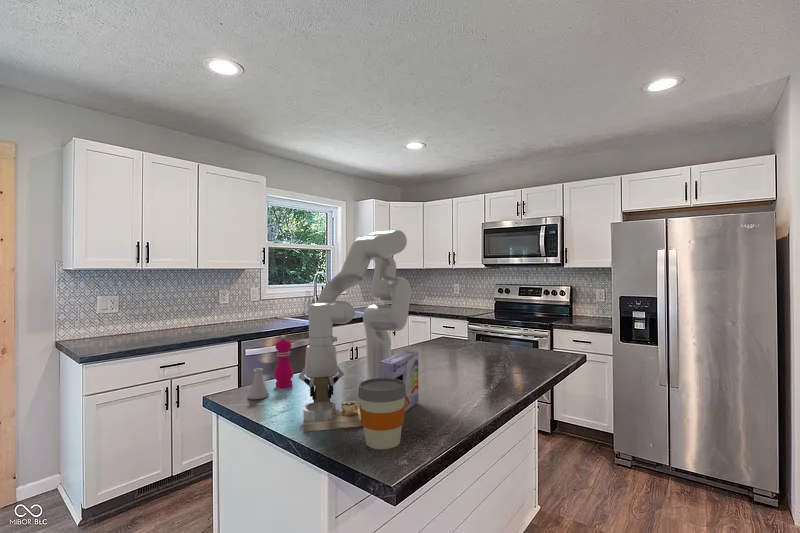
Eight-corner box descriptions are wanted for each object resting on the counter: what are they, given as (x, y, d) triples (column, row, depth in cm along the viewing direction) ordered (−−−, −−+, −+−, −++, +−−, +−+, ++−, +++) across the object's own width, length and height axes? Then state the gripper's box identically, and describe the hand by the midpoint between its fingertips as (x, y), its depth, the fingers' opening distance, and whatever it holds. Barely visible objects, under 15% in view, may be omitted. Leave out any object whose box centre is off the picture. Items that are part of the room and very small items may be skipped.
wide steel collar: (334, 410, 124) (334, 400, 124) (336, 420, 115) (336, 410, 115) (303, 412, 122) (303, 403, 122) (303, 424, 113) (303, 413, 113)
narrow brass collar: (357, 410, 123) (357, 400, 123) (359, 416, 119) (358, 405, 119) (341, 412, 122) (341, 401, 122) (342, 417, 118) (342, 406, 118)
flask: (262, 400, 141) (262, 372, 141) (243, 399, 143) (243, 371, 143) (272, 394, 148) (272, 367, 148) (255, 393, 150) (254, 366, 150)
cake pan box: (391, 423, 118) (390, 362, 118) (376, 420, 121) (375, 361, 121) (420, 403, 135) (419, 350, 135) (407, 401, 137) (406, 349, 138)
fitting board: (363, 413, 126) (363, 407, 126) (367, 425, 117) (367, 418, 117) (304, 419, 123) (304, 412, 123) (303, 431, 113) (303, 424, 113)
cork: (334, 407, 132) (334, 374, 132) (325, 414, 127) (325, 378, 127) (318, 406, 134) (318, 372, 134) (308, 412, 129) (308, 377, 129)
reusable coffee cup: (369, 430, 113) (368, 376, 113) (412, 434, 110) (411, 379, 110) (351, 449, 101) (350, 389, 101) (399, 455, 98) (397, 392, 98)
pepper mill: (283, 389, 154) (282, 337, 154) (270, 387, 158) (269, 335, 158) (297, 384, 160) (296, 334, 160) (284, 382, 164) (284, 333, 164)
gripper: (346, 338, 136) (347, 392, 136) (294, 341, 133) (295, 396, 132) (348, 342, 129) (349, 399, 129) (293, 345, 125) (294, 404, 125)
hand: (321, 397), depth 131 cm, fingers closed on cork, 4 cm apart
